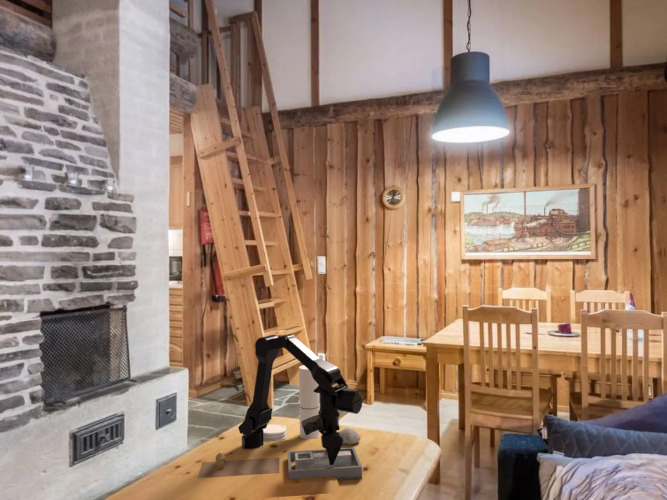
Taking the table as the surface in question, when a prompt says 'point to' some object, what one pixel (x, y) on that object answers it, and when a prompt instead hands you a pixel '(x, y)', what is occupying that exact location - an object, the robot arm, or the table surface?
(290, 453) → the tray
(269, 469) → the stud board
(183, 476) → the table surface
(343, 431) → the pebble
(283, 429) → the white round stack
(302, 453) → the square nut with handle
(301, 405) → the cylindrical container
